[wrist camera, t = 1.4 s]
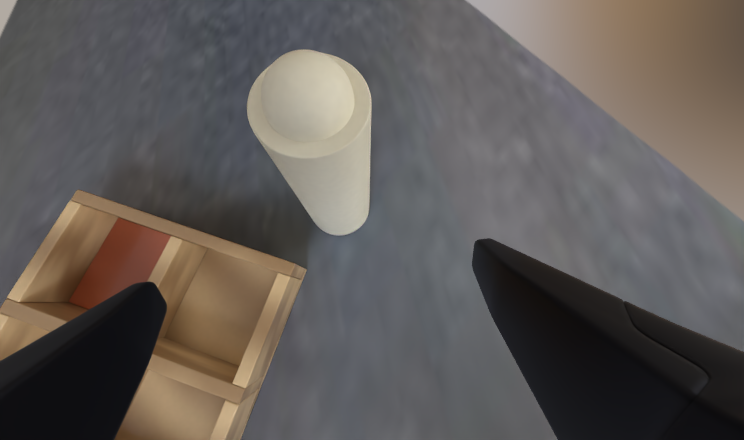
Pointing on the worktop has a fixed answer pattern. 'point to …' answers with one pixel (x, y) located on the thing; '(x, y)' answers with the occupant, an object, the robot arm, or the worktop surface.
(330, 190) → the dome-topped white cylinder
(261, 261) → the grid
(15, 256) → the worktop surface
